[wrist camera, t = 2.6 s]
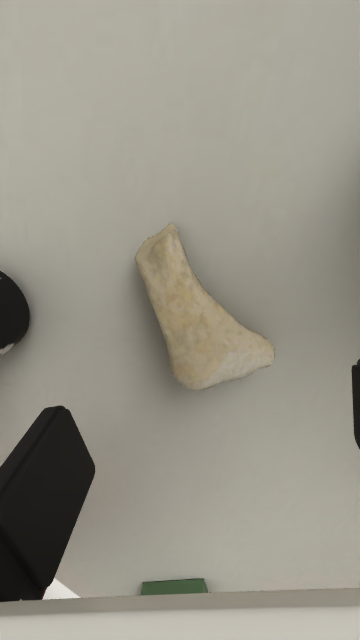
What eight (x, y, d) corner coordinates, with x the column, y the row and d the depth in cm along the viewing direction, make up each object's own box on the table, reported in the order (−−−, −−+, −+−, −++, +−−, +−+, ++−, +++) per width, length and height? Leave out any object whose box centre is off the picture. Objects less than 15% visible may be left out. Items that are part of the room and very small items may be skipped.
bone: (275, 343, 22) (291, 382, 18) (206, 387, 24) (206, 432, 20) (172, 218, 19) (161, 227, 15) (104, 279, 21) (77, 303, 17)
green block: (159, 616, 37) (151, 690, 32) (142, 582, 35) (131, 656, 29) (216, 614, 36) (218, 690, 31) (203, 578, 34) (203, 654, 28)
